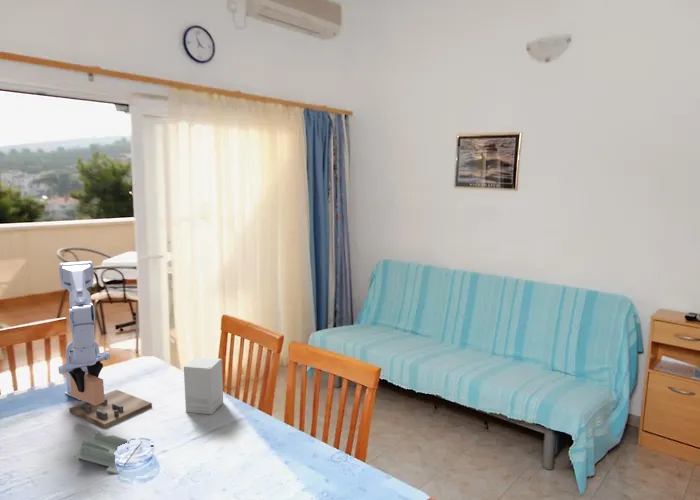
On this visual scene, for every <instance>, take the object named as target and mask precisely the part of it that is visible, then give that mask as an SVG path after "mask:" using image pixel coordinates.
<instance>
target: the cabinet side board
mask: <svg viewBox="0 0 700 500" xmlns="http://www.w3.org/2000/svg"><path fill="white" fill-rule="evenodd" d="M104 401H105V402H103V403H101V404H98V405H96V406H94V405H92V404H90V403H87V402H85V401H83V402H80V403H79V404H76V405H73V406H72V407H69V408H68V409H69V413H71V414H74V415H75V416H77V417H80V418H83V419H84V420H87V421H89V422H91V423H94V424H95V425H97V426H99V427H102V428H105V429H106V428H109V427H110V426H112V425H114V424H117V423H119V422H121V421H124V420H126V419H128V418H130V417H133V416H134V415H136V414H139V413H142V412H144V411H145V410H147V409H150V408H152V407H153V402H151V401H150V402H149V401H147V400H144V399H142V398H141V397H137V396H134V395H133V394H129V393H127V392H124V391H121V390H118V389H114V390H112V391H109V392H107V393H104Z"/></svg>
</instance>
